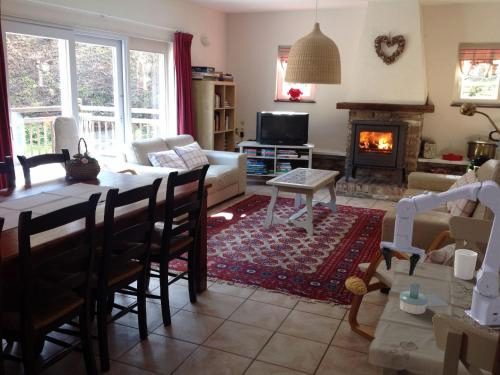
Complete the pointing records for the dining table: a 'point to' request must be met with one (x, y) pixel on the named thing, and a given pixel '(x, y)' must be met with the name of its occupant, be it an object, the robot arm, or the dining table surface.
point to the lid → (414, 296)
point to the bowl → (412, 308)
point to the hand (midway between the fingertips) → (399, 272)
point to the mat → (435, 301)
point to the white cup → (464, 264)
